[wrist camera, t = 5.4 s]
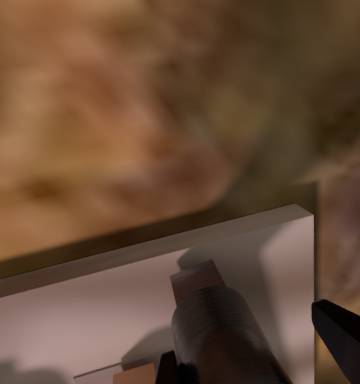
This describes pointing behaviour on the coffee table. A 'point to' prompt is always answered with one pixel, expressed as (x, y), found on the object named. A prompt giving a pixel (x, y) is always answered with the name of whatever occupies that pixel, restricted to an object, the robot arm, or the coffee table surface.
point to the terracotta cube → (137, 375)
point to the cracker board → (157, 300)
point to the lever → (219, 333)
